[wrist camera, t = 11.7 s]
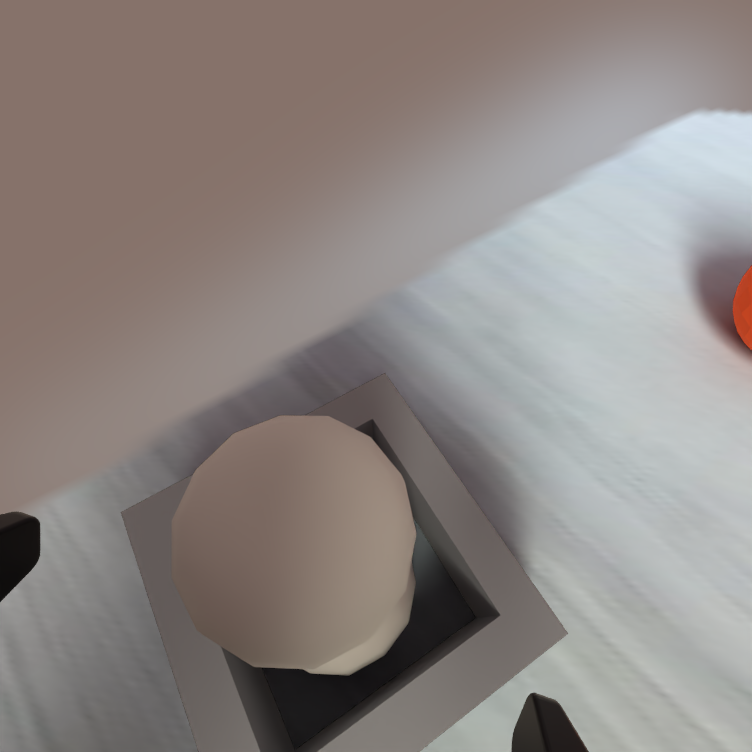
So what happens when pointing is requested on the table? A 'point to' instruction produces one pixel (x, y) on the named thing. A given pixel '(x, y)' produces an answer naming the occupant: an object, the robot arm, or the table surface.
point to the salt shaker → (297, 547)
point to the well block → (416, 683)
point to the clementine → (744, 308)
